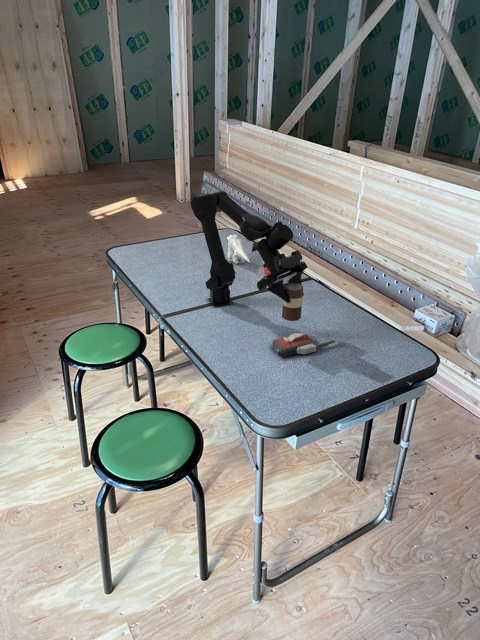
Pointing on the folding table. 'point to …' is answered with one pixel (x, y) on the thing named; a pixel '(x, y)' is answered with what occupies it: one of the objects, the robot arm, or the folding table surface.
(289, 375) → the folding table surface
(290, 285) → the coffee can
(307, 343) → the walkie-talkie
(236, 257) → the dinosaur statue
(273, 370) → the folding table surface
